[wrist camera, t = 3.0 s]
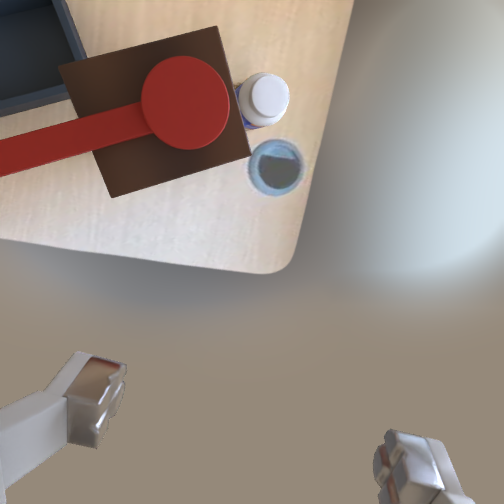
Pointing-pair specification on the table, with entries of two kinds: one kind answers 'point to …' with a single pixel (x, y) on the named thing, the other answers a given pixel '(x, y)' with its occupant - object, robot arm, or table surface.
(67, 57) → the bin
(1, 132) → the table surface
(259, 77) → the pill bottle
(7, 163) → the red lever with knob
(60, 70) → the stand
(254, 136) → the table surface
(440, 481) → the robot arm
